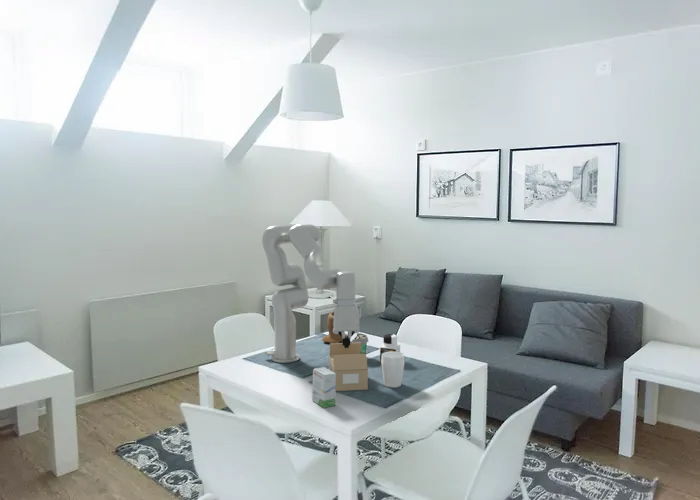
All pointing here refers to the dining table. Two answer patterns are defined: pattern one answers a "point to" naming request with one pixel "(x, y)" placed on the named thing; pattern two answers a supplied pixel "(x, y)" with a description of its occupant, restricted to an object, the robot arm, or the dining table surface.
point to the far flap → (340, 349)
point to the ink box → (324, 387)
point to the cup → (392, 368)
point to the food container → (363, 340)
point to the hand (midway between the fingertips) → (346, 347)
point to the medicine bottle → (389, 344)
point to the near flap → (350, 362)
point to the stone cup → (332, 336)
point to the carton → (349, 378)
